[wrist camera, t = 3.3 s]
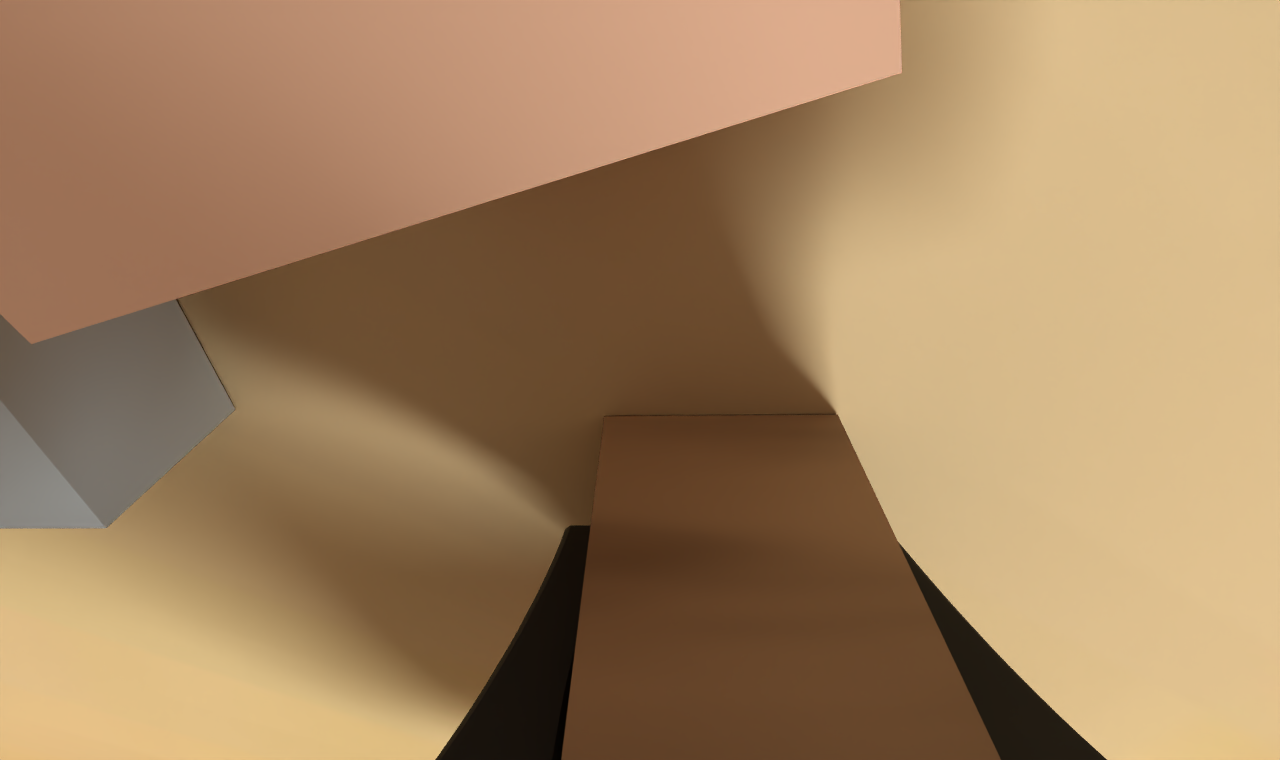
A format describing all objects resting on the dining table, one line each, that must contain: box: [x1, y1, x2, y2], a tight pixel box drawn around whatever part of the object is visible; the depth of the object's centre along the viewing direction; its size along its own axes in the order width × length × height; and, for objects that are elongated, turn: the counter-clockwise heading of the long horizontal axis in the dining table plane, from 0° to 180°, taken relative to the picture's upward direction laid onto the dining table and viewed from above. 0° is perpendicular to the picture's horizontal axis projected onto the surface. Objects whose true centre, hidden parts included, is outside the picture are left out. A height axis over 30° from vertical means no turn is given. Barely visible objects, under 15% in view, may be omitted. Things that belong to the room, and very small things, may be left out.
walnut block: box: [561, 414, 1001, 760], centre depth 9 cm, size 4×4×6 cm
